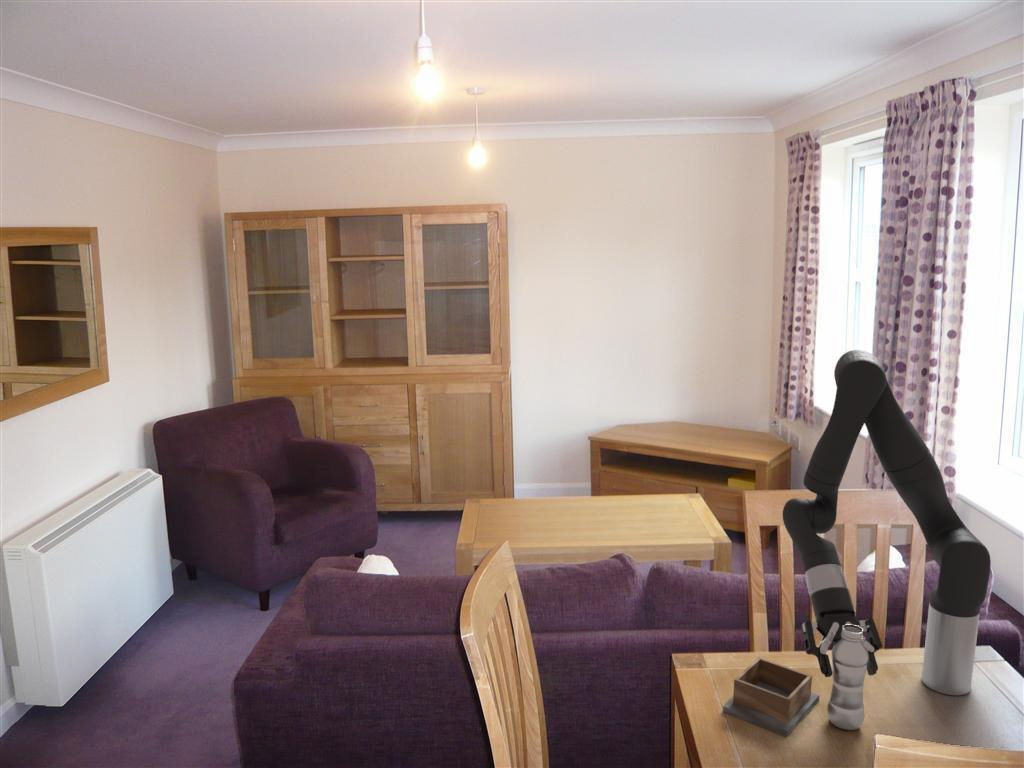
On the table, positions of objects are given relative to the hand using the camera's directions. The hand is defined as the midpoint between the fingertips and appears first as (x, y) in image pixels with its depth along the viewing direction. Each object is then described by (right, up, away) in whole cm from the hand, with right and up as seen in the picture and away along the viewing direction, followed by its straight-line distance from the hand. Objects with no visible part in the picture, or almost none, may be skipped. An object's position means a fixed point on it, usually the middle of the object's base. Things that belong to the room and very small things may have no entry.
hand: (851, 675), depth 163 cm
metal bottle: (0, -11, +3) cm, 11 cm away
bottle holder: (-12, -9, +9) cm, 18 cm away
